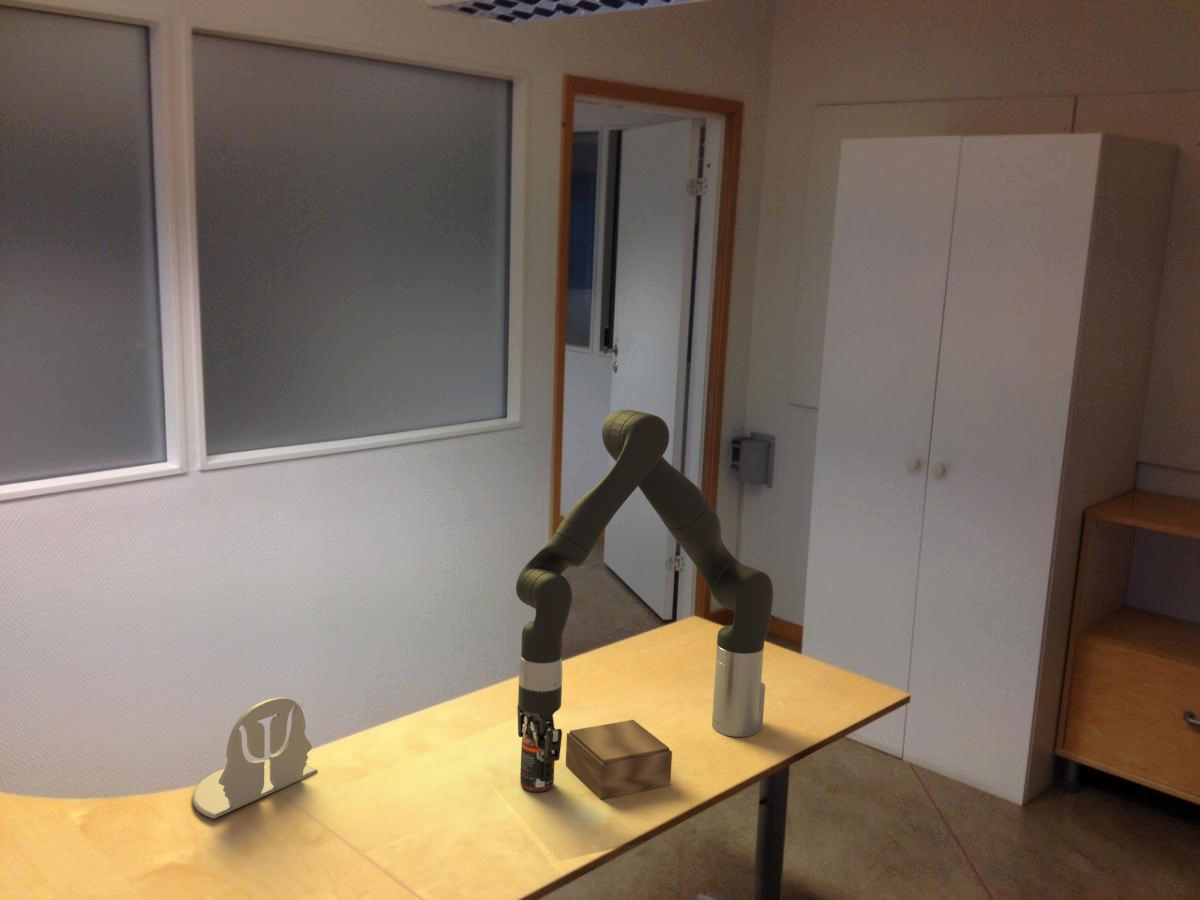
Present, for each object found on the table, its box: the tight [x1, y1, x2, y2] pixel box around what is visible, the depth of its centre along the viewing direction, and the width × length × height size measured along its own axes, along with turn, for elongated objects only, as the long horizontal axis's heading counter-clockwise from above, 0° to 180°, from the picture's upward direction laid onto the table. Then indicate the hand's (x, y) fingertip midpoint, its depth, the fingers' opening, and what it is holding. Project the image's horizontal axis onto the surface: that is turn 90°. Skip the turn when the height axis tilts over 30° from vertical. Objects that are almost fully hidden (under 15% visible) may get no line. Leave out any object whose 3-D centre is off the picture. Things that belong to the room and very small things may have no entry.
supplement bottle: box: [519, 724, 556, 793], centre depth 195 cm, size 6×6×11 cm
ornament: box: [191, 696, 319, 819], centre depth 191 cm, size 22×13×17 cm, turn 145°
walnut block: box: [565, 719, 673, 801], centre depth 200 cm, size 14×14×7 cm
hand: (537, 771), depth 195 cm, fingers closed on supplement bottle, 6 cm apart
